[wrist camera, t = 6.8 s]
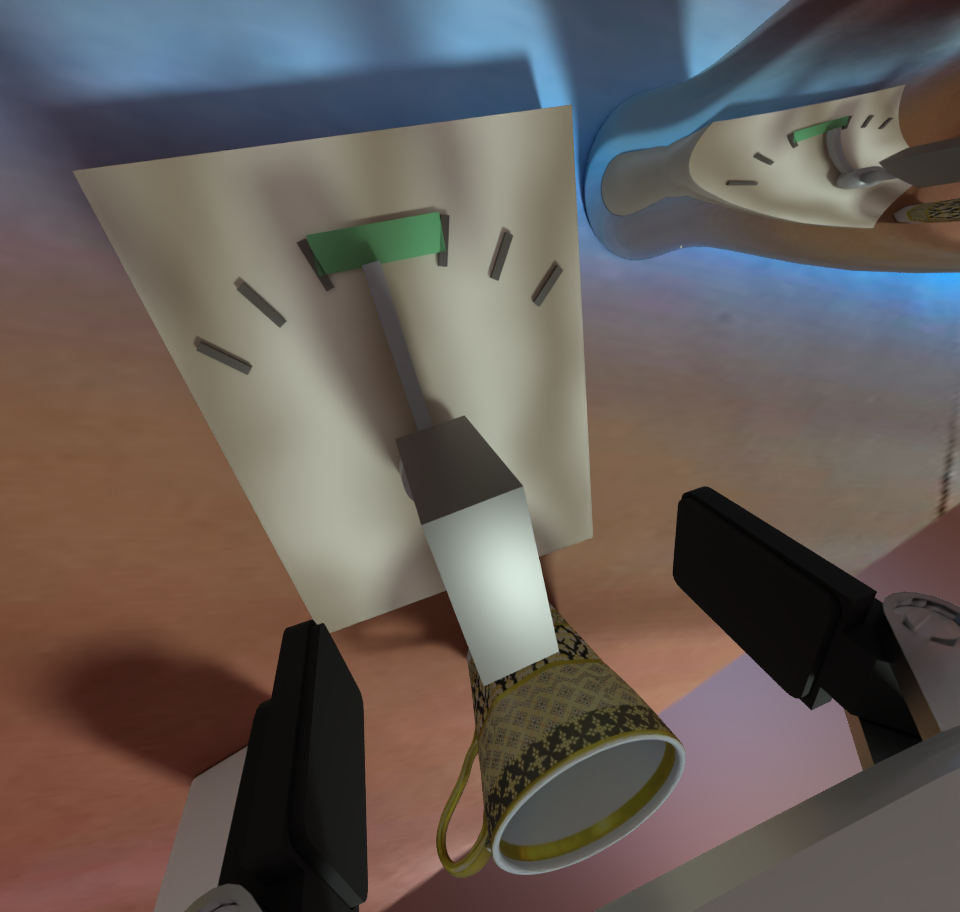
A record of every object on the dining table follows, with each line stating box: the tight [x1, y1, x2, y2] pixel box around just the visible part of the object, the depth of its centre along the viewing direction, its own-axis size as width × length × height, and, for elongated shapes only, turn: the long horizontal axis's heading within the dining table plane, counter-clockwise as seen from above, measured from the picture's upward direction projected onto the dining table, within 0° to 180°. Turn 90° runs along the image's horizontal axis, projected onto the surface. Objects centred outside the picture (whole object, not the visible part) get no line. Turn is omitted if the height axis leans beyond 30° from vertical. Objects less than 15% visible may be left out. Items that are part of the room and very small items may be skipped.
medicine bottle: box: [154, 746, 248, 912], centre depth 20 cm, size 7×7×12 cm
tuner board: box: [72, 105, 593, 633], centre depth 17 cm, size 15×19×2 cm
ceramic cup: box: [436, 602, 686, 878], centre depth 23 cm, size 13×10×10 cm
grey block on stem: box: [361, 261, 559, 686], centre depth 13 cm, size 3×11×8 cm, turn 14°
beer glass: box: [584, 0, 960, 273], centre depth 11 cm, size 7×7×15 cm
